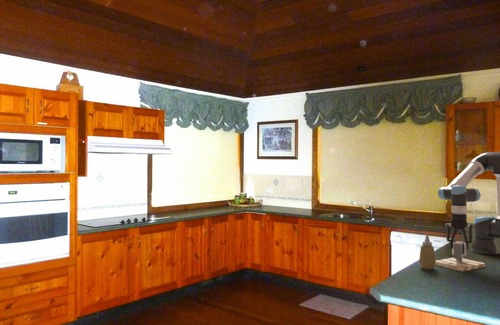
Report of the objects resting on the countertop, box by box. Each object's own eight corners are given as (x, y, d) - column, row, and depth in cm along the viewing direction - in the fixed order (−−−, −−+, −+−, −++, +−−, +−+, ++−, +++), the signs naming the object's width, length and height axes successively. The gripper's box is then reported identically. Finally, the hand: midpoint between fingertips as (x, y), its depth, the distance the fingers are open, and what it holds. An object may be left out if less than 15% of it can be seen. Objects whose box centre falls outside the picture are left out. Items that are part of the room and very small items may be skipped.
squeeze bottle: (426, 270, 210) (426, 236, 210) (415, 267, 217) (415, 234, 217) (438, 269, 212) (438, 236, 212) (428, 266, 219) (428, 233, 220)
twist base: (456, 260, 233) (456, 252, 233) (484, 266, 218) (484, 258, 218) (433, 264, 223) (433, 256, 223) (462, 271, 208) (462, 262, 208)
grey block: (457, 255, 226) (457, 240, 226) (464, 255, 224) (464, 240, 224) (453, 258, 218) (453, 242, 218) (461, 259, 216) (461, 243, 216)
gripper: (442, 213, 220) (442, 255, 220) (478, 214, 215) (479, 257, 215) (440, 211, 227) (440, 252, 227) (475, 212, 222) (475, 254, 222)
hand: (459, 254), depth 221 cm, fingers closed on grey block, 5 cm apart
